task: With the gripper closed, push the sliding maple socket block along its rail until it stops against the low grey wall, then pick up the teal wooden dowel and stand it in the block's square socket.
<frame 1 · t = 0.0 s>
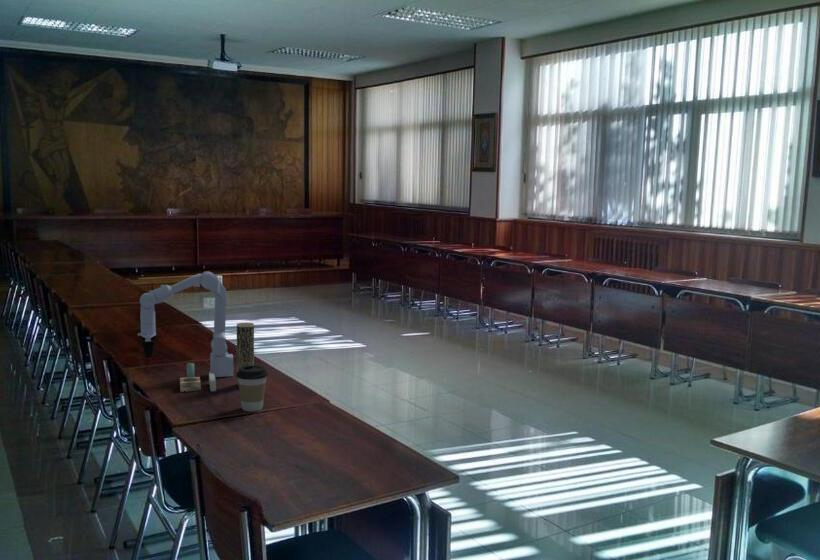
hand: (148, 355, 304), 10 cm above the table, tool pointing down, fingers open, 7 cm apart
coffee cup: (252, 409, 270), on the table
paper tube: (245, 385, 300), on the table
block: (190, 384, 293), point 2 cm above the table, slide at 0.0 cm
dowel: (190, 383, 301), on the table
wall: (212, 387, 296), on the table
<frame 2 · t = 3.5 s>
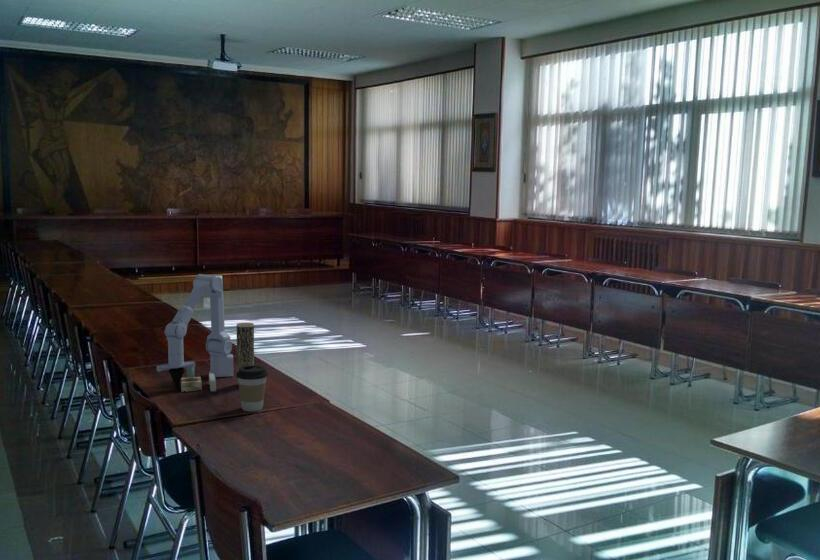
hand: (176, 386, 292), 1 cm above the table, tool pointing down, fingers closed
block: (191, 384, 294), point 2 cm above the table, slide at 0.4 cm, touching gripper
everything else where it was.
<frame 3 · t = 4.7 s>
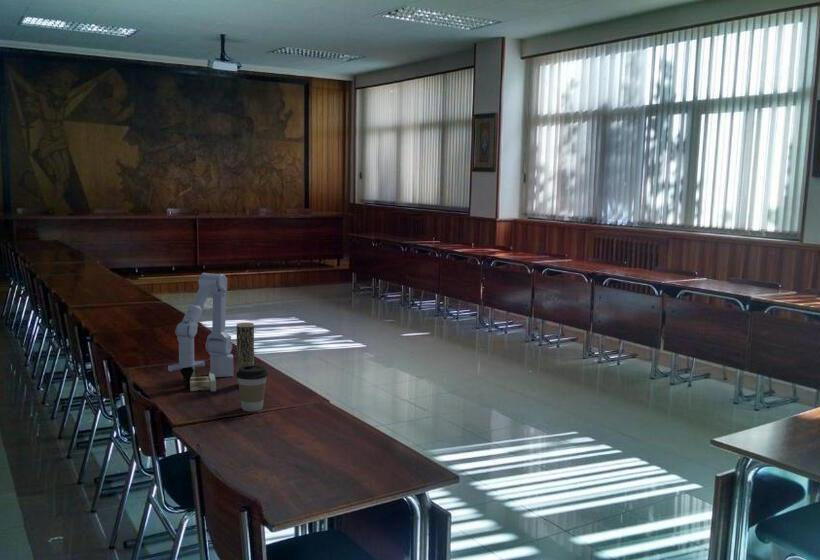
hand: (187, 386, 293), 1 cm above the table, tool pointing down, fingers closed, pressing on block
block: (199, 383, 295), point 2 cm above the table, slide at 3.7 cm, touching gripper, wall
everything else where it was.
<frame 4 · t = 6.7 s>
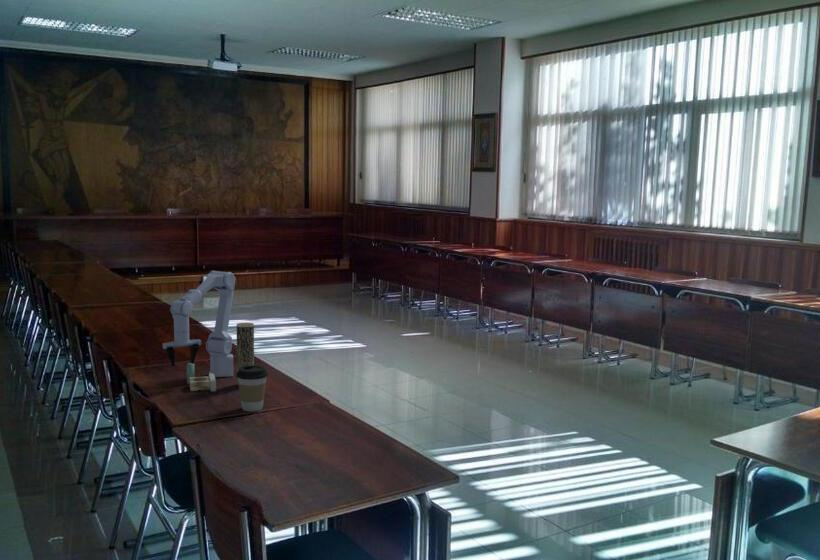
hand: (182, 364, 294), 9 cm above the table, tool pointing down, fingers open, 7 cm apart
block: (199, 383, 295), point 2 cm above the table, slide at 3.7 cm, touching wall
everything else where it was.
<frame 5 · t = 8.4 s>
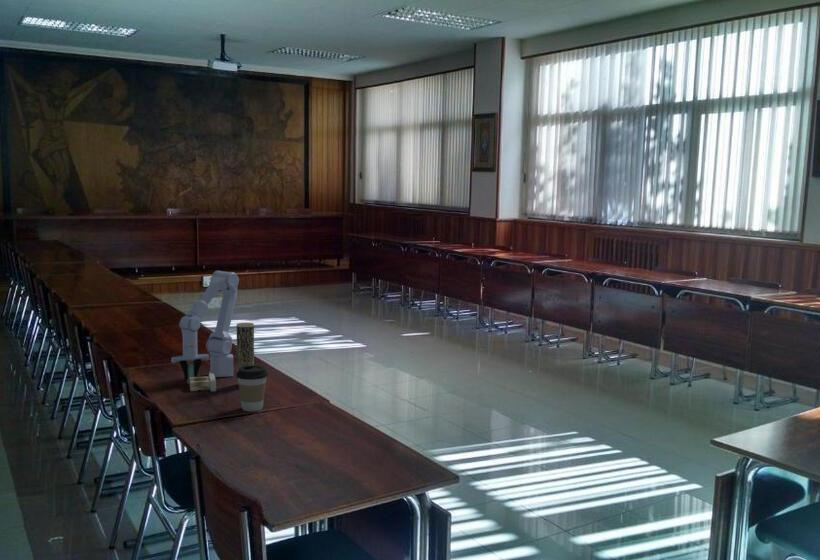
hand: (190, 378, 301), 2 cm above the table, tool pointing down, fingers closed on dowel, 3 cm apart
dowel: (190, 383, 301), on the table, touching gripper
everything else where it was.
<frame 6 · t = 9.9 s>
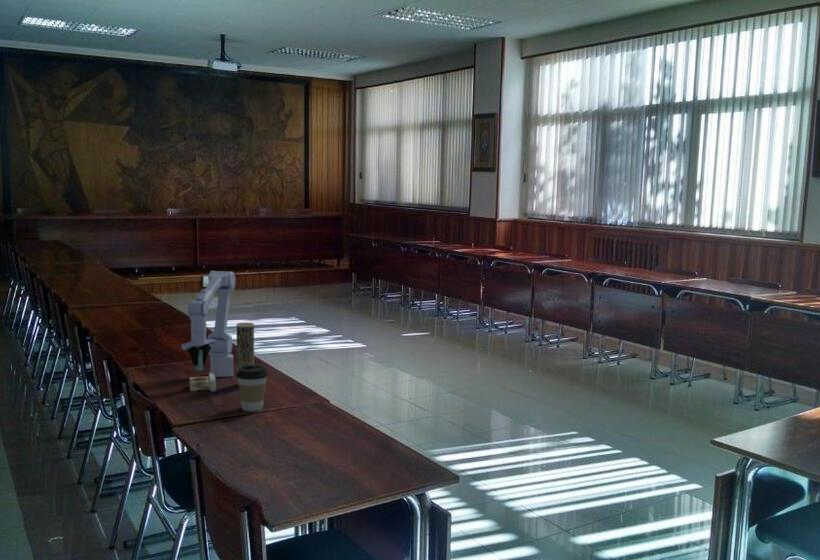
hand: (199, 364, 294), 9 cm above the table, tool pointing down, fingers closed on dowel, 3 cm apart
dowel: (199, 369, 294), point 7 cm above the table, touching gripper
everything else where it was.
when the fingers open (4 cm above the table, at t = 11.6 s): dowel drops 1 cm, resting on block.
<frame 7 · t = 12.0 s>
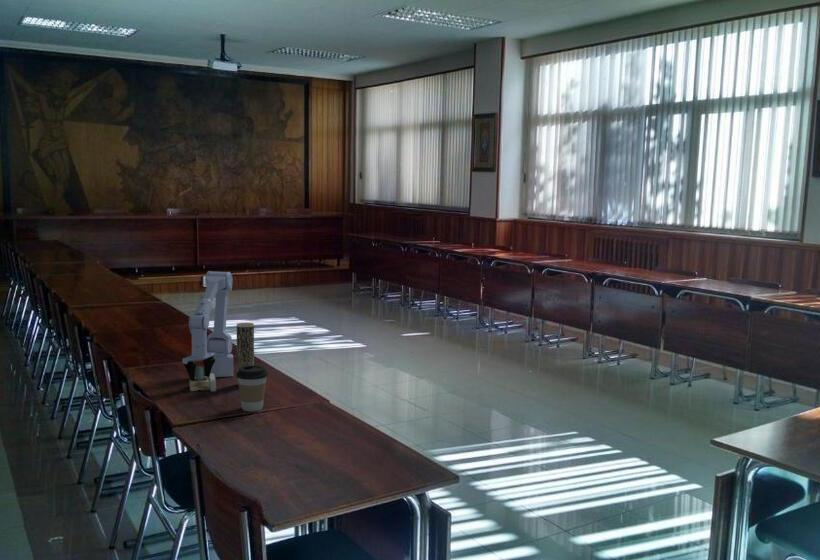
hand: (199, 378, 294), 4 cm above the table, tool pointing down, fingers open, 7 cm apart
block: (199, 383, 295), point 2 cm above the table, slide at 3.7 cm, touching dowel
dowel: (199, 386, 295), resting on block
everything else where it was.
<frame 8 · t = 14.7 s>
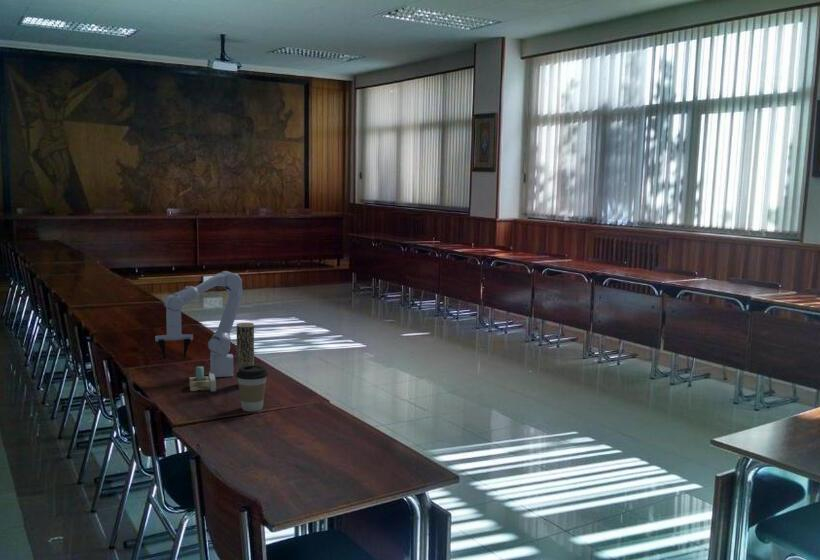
hand: (174, 357, 302), 10 cm above the table, tool pointing down, fingers open, 7 cm apart
nothing on the table moved.
at the end: block slide at 3.7 cm; dowel 0.0 cm off-centre on the block, point 0.4 cm above the block's base; dowel tilted 0° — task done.
